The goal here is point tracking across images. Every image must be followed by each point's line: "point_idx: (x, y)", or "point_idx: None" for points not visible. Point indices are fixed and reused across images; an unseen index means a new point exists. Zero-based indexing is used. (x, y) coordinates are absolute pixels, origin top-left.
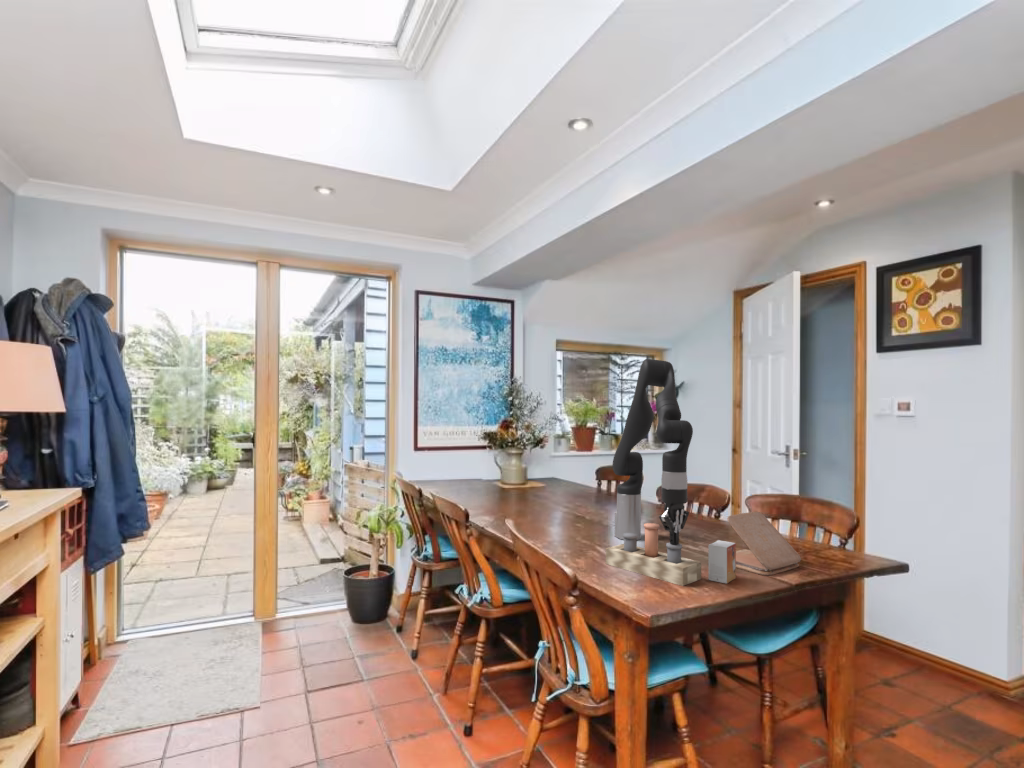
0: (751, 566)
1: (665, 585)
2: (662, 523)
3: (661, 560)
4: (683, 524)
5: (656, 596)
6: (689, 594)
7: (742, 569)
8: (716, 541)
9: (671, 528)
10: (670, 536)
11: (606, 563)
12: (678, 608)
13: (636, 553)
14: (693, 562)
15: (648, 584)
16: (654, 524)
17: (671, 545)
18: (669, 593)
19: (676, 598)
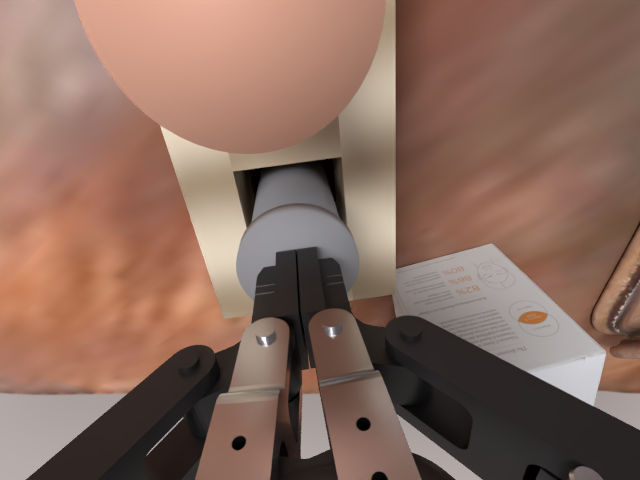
0: (635, 290)
1: (170, 232)
2: (65, 454)
3: (224, 173)
4: (435, 419)
5: (44, 297)
6: (186, 330)
7: (625, 252)
8: (563, 367)
9: (182, 445)
10: (255, 311)
11: None
12: (58, 385)
13: None
14: (356, 282)
15: (98, 186)
16: (305, 23)
17: (254, 278)
18: (119, 297)
19: (111, 336)
